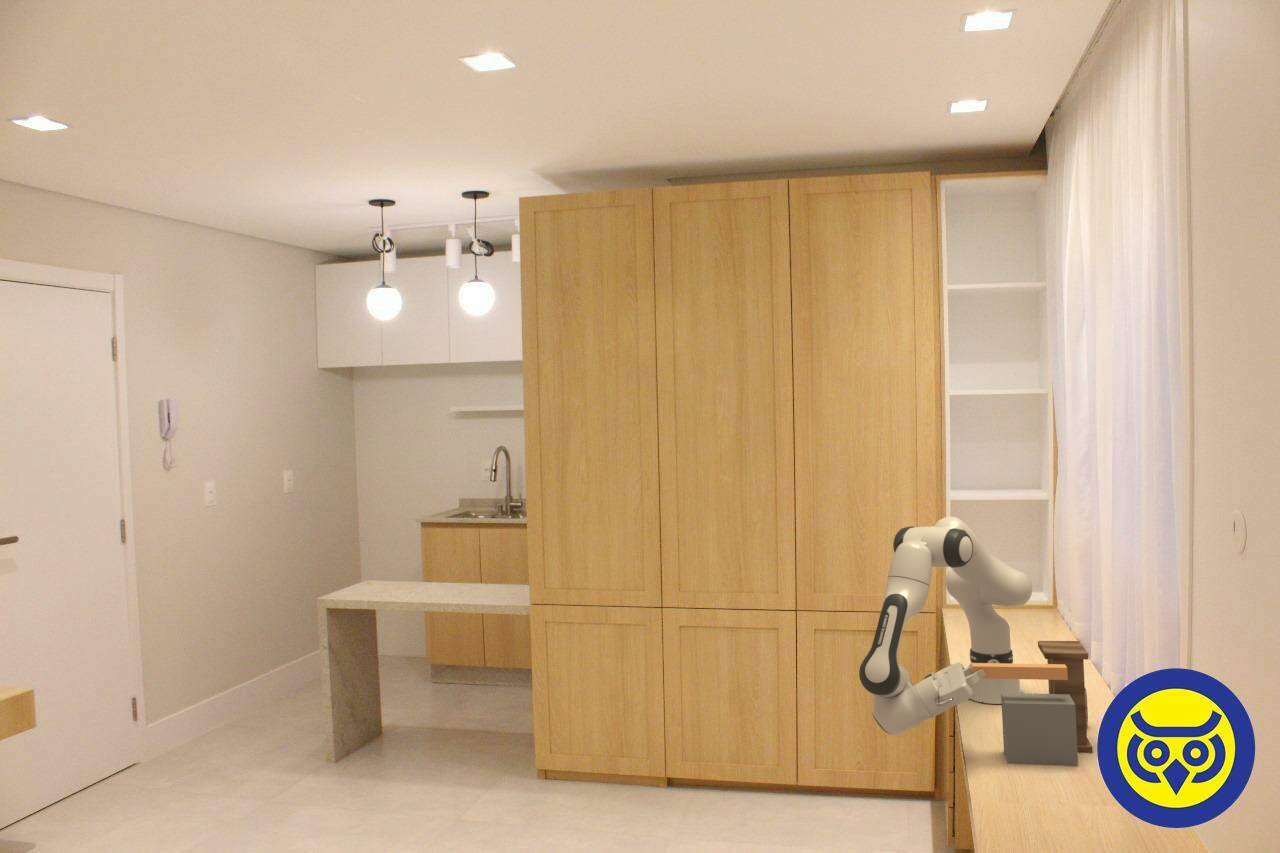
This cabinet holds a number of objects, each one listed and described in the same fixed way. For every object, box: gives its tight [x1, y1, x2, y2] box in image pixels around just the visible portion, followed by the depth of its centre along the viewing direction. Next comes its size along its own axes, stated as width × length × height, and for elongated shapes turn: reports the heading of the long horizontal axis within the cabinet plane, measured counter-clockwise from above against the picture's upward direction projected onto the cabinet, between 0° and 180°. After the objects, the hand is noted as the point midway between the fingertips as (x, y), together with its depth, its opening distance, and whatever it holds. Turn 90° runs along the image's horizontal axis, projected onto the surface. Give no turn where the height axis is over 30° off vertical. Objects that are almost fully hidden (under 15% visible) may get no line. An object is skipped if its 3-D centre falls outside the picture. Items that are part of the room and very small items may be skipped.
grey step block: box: [1001, 692, 1079, 767], centre depth 240 cm, size 8×16×15 cm, turn 76°
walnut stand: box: [1037, 640, 1094, 754], centre depth 248 cm, size 12×10×25 cm
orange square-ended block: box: [970, 662, 1068, 681], centre depth 240 cm, size 3×22×3 cm, turn 76°
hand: (983, 668), depth 242 cm, fingers closed on orange square-ended block, 3 cm apart
